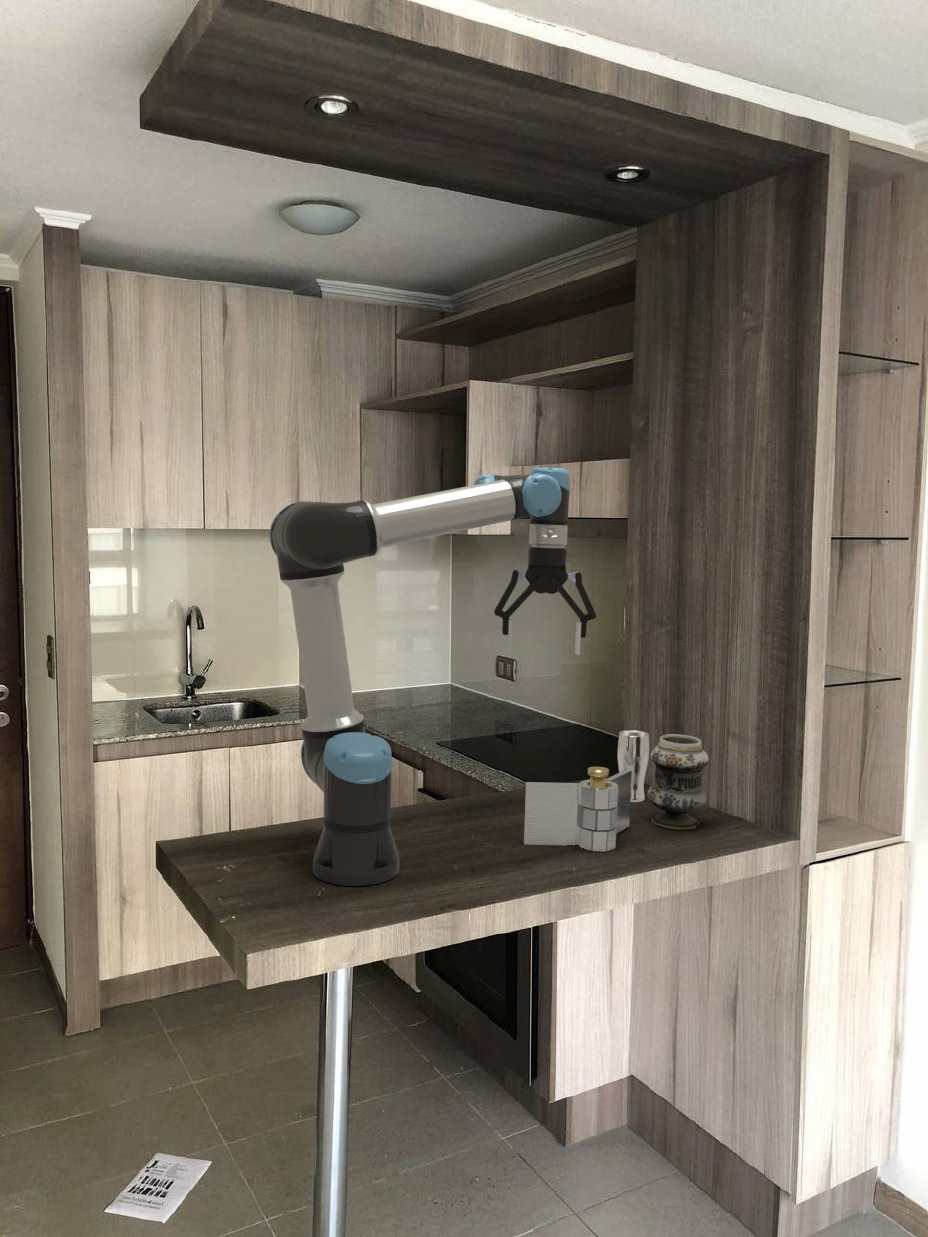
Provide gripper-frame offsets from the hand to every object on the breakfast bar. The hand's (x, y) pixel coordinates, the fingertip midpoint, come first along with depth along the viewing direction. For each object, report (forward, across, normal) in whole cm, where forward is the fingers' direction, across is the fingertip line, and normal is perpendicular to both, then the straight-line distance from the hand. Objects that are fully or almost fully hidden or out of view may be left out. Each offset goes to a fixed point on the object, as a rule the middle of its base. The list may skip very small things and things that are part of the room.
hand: (543, 652), depth 197 cm
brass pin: (+36, +11, -11) cm, 39 cm away
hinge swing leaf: (+35, +14, -6) cm, 38 cm away
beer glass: (+36, +23, +22) cm, 48 cm away
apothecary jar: (+36, +30, +5) cm, 47 cm away
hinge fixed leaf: (+36, +6, -11) cm, 38 cm away
